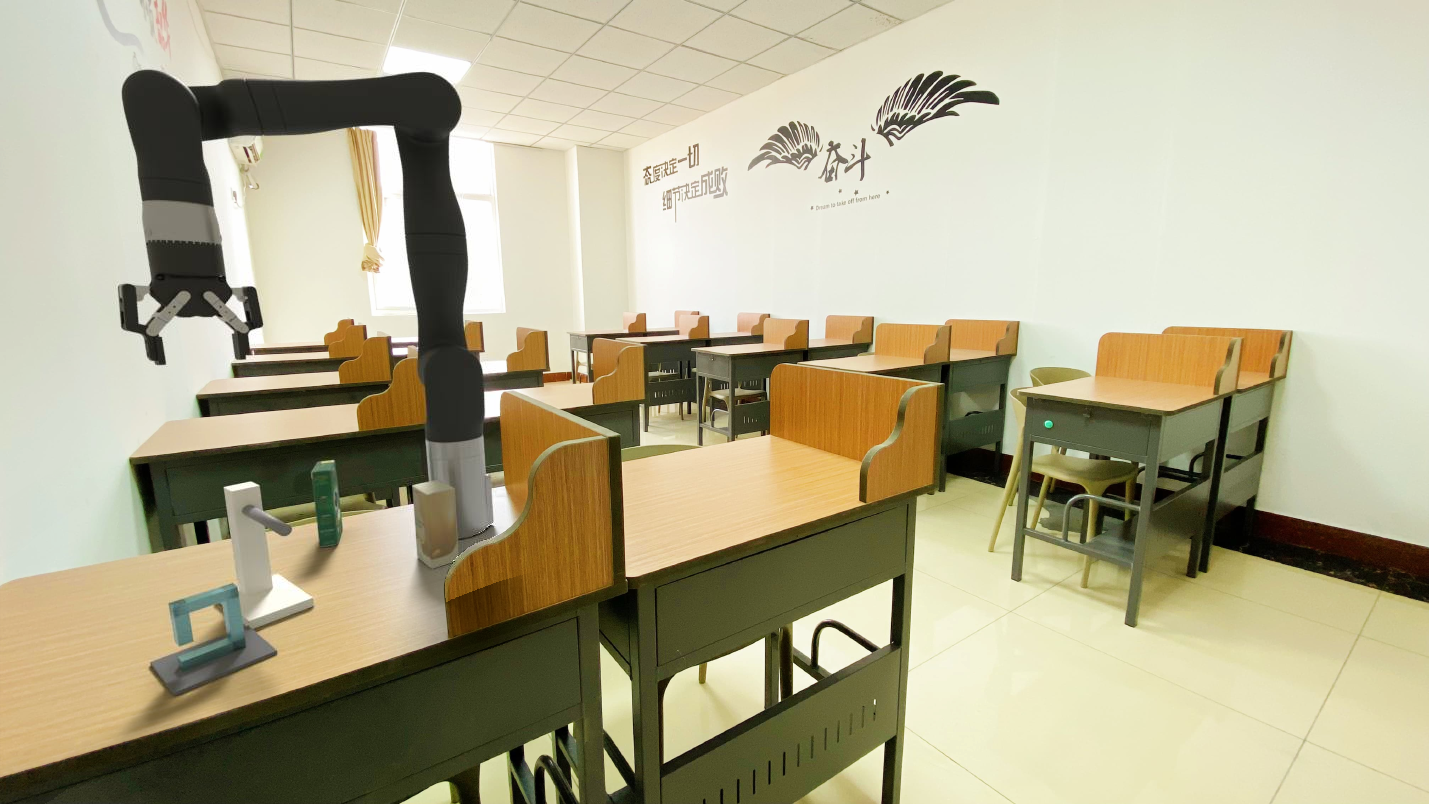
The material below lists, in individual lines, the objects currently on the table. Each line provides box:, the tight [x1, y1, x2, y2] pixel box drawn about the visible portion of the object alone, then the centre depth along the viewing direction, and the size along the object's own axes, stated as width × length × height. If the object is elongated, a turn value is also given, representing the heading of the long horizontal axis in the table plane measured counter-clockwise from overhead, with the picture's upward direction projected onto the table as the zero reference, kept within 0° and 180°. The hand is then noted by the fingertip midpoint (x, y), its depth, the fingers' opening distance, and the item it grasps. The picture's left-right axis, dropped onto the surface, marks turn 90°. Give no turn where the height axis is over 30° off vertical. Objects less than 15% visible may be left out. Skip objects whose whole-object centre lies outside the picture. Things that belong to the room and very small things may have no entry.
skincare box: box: [411, 480, 460, 570], centre depth 90 cm, size 6×4×12 cm
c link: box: [168, 582, 246, 672], centre depth 65 cm, size 6×2×8 cm, turn 146°
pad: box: [149, 626, 278, 697], centre depth 66 cm, size 9×9×1 cm
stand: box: [219, 481, 315, 630], centre depth 75 cm, size 7×16×16 cm, turn 55°
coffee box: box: [310, 459, 343, 548], centre depth 98 cm, size 8×3×13 cm, turn 28°
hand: (202, 362), depth 79 cm, fingers open, 8 cm apart
